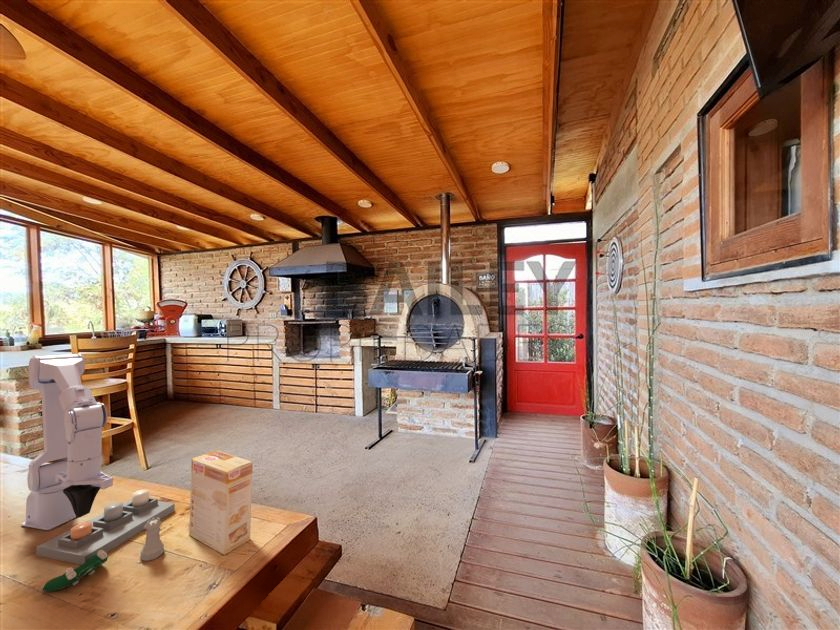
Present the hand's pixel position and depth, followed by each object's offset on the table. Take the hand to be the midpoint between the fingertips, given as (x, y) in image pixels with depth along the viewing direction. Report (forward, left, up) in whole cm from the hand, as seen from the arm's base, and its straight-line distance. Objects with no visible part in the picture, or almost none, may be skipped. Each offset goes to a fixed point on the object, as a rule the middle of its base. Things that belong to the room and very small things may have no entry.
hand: (82, 514), depth 81 cm
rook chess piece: (+18, +2, -8) cm, 20 cm away
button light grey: (0, +7, -5) cm, 8 cm away
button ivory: (0, +14, -5) cm, 15 cm away
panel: (0, +7, -8) cm, 10 cm away
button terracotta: (0, 0, -6) cm, 6 cm away
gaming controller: (+10, -7, -8) cm, 15 cm away
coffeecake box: (+28, +11, -8) cm, 31 cm away
